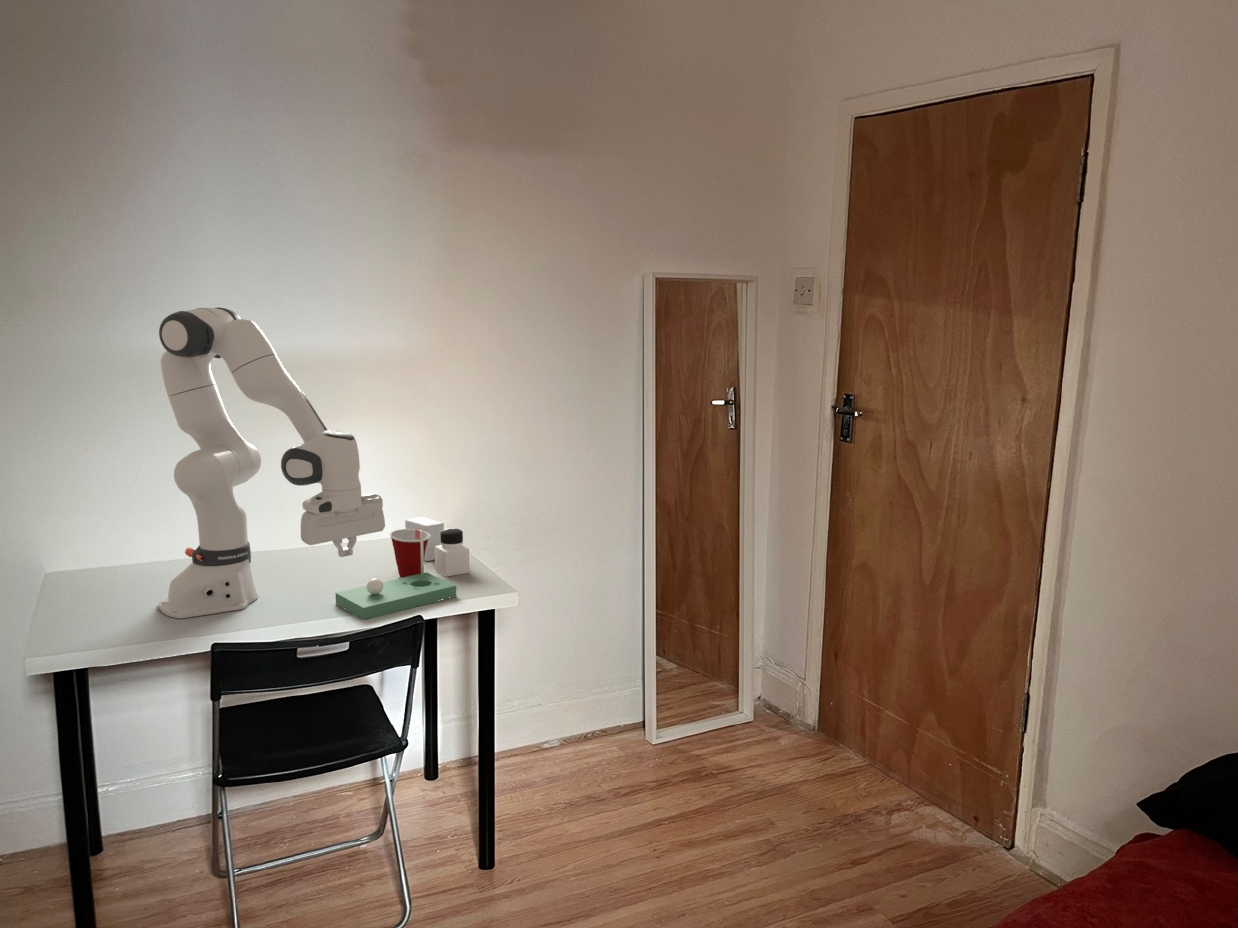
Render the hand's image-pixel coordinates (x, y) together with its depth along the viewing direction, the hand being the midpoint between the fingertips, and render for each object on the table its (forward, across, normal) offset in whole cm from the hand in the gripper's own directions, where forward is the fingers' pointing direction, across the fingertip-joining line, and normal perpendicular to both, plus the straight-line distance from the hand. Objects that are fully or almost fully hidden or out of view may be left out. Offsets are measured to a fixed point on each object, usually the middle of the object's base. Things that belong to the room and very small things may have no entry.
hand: (345, 555), depth 231 cm
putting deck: (+15, -14, -1) cm, 20 cm away
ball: (+10, -8, -1) cm, 12 cm away
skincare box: (+15, -39, -30) cm, 52 cm away
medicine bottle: (+15, -37, -12) cm, 42 cm away
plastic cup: (+15, -26, -16) cm, 34 cm away
